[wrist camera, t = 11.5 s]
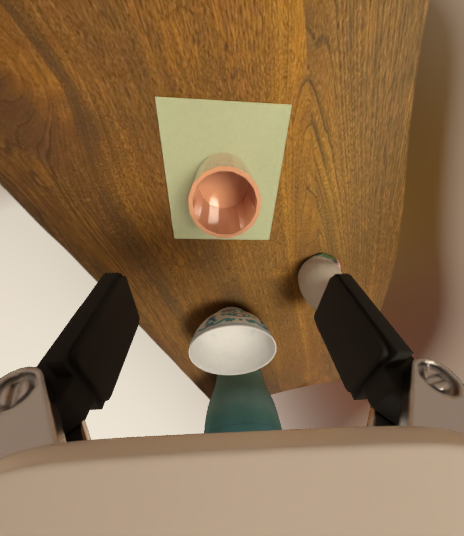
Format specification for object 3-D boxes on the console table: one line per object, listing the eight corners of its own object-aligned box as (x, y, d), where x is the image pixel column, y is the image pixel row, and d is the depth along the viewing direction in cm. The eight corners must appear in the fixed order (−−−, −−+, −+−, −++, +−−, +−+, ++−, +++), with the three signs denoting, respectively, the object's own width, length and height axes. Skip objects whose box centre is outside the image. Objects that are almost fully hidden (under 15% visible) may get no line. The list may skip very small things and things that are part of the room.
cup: (194, 150, 24) (185, 164, 17) (253, 153, 24) (265, 167, 18) (197, 208, 28) (191, 237, 21) (248, 209, 28) (256, 238, 22)
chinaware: (241, 346, 48) (245, 381, 42) (180, 328, 43) (174, 364, 37) (283, 307, 41) (294, 342, 34) (215, 279, 35) (215, 314, 29)
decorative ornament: (321, 292, 39) (366, 373, 27) (287, 289, 38) (319, 372, 26) (344, 250, 33) (414, 328, 21) (305, 246, 32) (356, 324, 20)
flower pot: (194, 363, 51) (185, 453, 38) (266, 350, 49) (283, 440, 36) (216, 393, 62) (215, 472, 48) (276, 383, 60) (292, 463, 46)
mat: (155, 96, 21) (154, 96, 21) (291, 104, 22) (291, 104, 22) (174, 237, 30) (174, 238, 30) (268, 239, 31) (268, 240, 31)
